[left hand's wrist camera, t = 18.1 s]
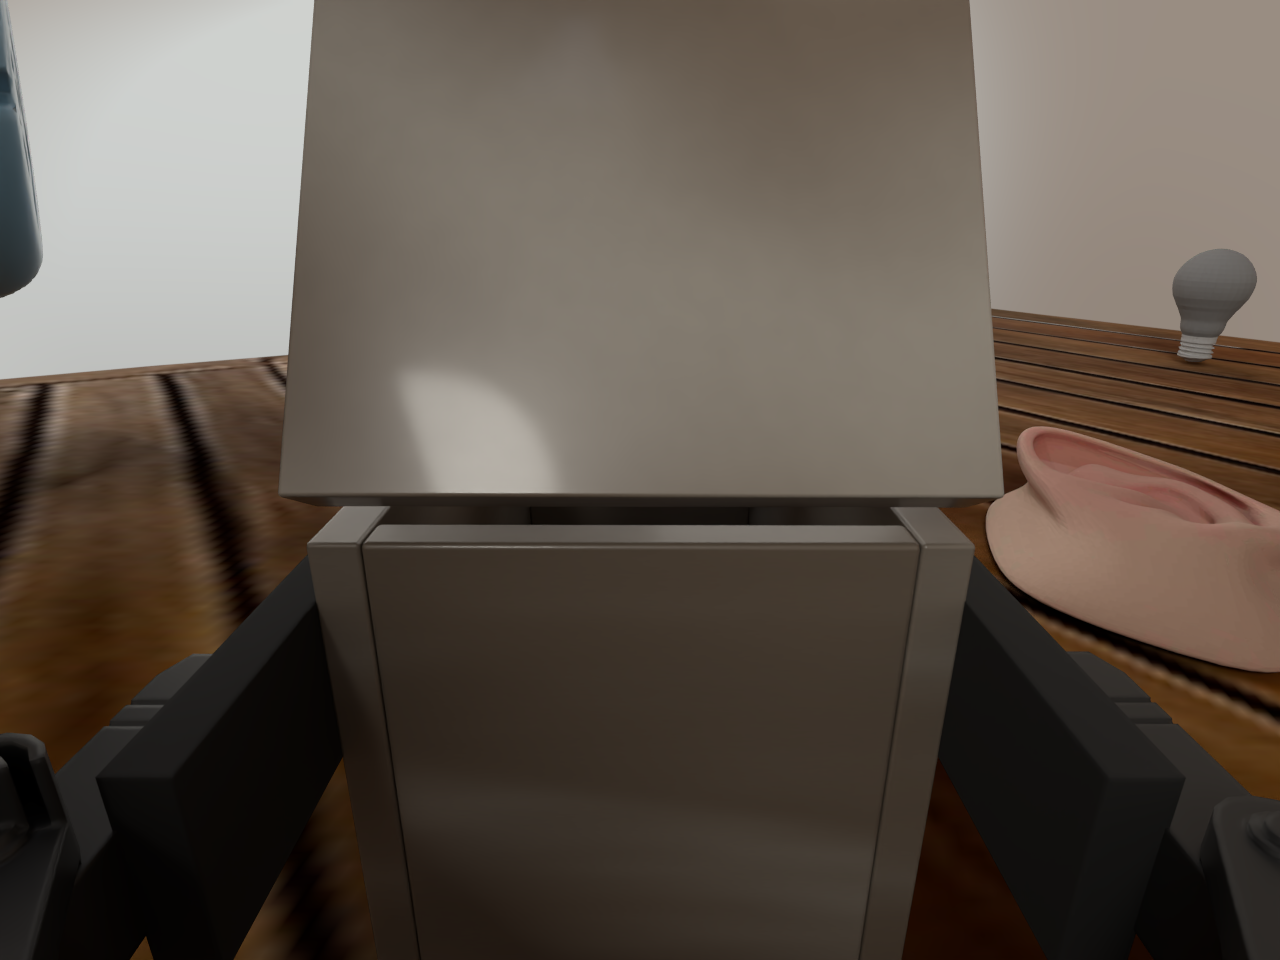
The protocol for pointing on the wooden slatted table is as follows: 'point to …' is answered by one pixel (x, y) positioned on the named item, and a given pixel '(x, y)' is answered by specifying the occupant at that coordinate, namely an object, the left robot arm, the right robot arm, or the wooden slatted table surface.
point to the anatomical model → (1142, 549)
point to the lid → (641, 257)
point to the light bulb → (1210, 298)
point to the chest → (640, 724)
